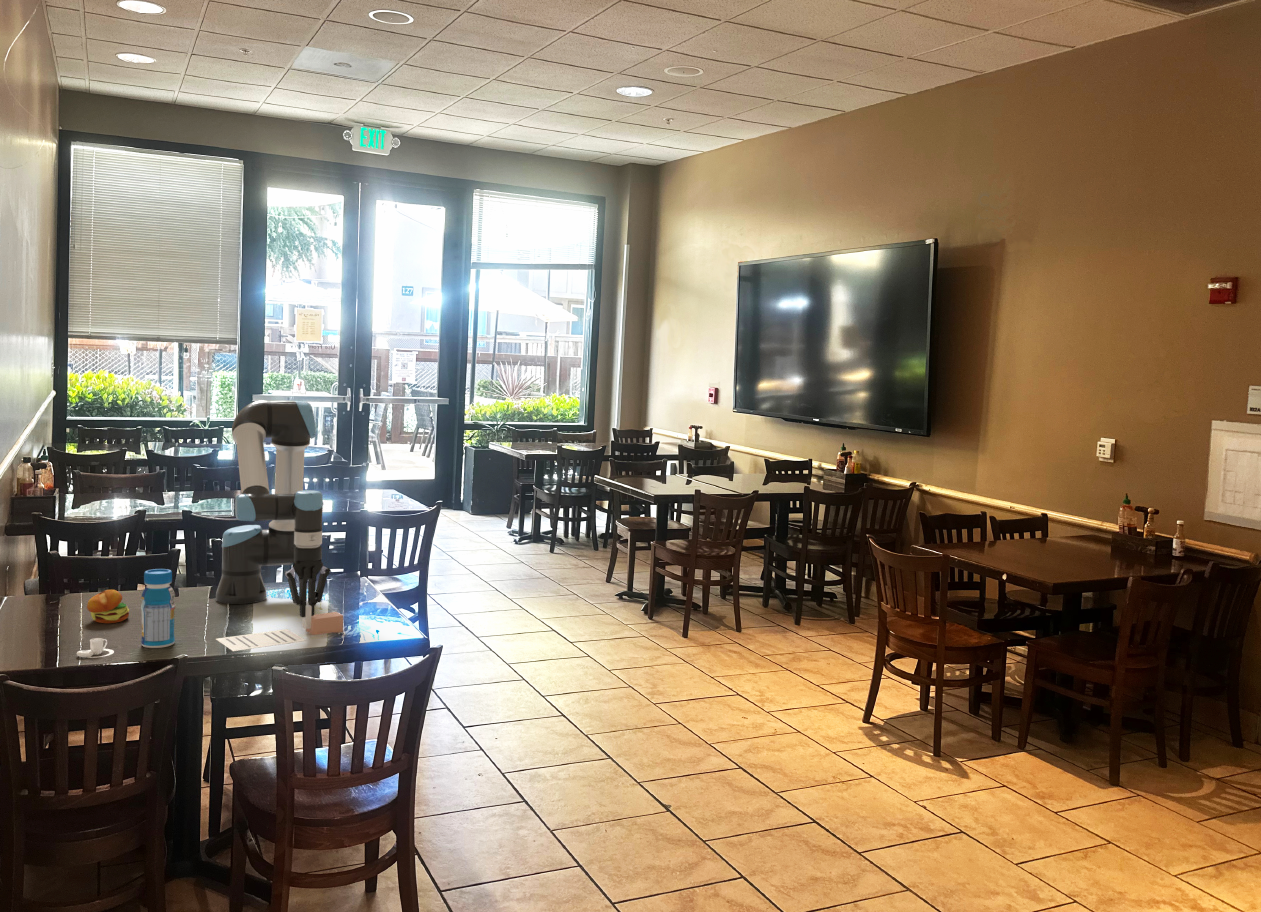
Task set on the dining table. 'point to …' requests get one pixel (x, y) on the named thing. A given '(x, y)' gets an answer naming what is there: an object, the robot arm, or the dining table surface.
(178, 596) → the dining table surface
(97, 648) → the teacup and saucer
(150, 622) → the beverage bottle
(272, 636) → the letter
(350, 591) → the dining table surface
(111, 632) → the dining table surface
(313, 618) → the block
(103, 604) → the cheeseburger
